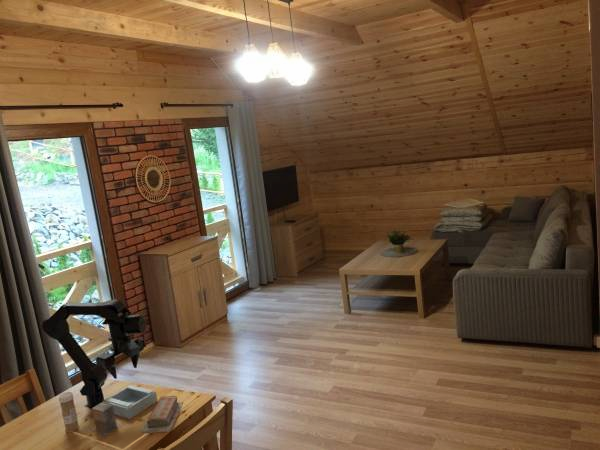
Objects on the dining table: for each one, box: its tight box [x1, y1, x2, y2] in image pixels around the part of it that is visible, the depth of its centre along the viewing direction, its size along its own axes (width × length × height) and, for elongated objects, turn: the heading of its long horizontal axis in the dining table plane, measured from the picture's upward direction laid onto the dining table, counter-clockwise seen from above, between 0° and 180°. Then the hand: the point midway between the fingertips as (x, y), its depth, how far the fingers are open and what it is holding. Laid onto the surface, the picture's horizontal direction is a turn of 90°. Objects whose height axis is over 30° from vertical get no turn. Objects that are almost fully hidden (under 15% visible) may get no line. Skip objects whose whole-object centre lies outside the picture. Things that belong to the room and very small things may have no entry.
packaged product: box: [140, 395, 184, 434], centre depth 185 cm, size 18×5×10 cm
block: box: [91, 403, 118, 434], centre depth 182 cm, size 4×6×8 cm, turn 58°
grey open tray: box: [102, 384, 158, 420], centre depth 196 cm, size 14×13×5 cm
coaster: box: [91, 422, 122, 436], centre depth 182 cm, size 7×7×1 cm
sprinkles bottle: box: [58, 391, 80, 434], centre depth 184 cm, size 5×5×14 cm
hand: (125, 373), depth 197 cm, fingers open, 9 cm apart
